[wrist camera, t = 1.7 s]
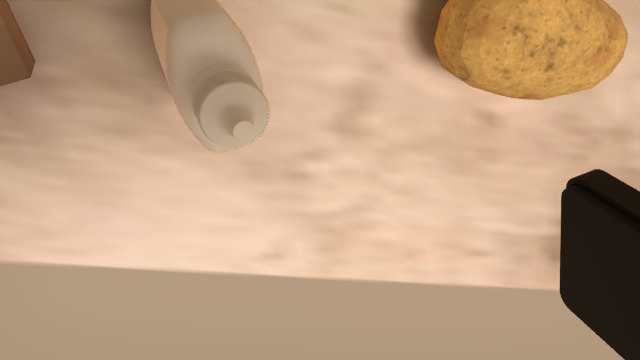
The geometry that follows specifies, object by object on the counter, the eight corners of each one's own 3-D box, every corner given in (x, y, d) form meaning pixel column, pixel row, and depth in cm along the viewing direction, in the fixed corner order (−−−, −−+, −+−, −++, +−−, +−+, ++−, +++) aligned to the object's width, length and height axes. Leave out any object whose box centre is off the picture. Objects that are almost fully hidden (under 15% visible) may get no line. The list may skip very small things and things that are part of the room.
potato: (437, -65, 30) (510, -52, 25) (592, -14, 35) (681, 6, 30) (396, 61, 33) (454, 97, 28) (546, 93, 37) (621, 130, 32)
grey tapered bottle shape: (133, 85, 29) (156, 201, 19) (156, -32, 27) (195, 27, 17) (220, 101, 31) (283, 216, 20) (247, -7, 29) (332, 60, 18)
